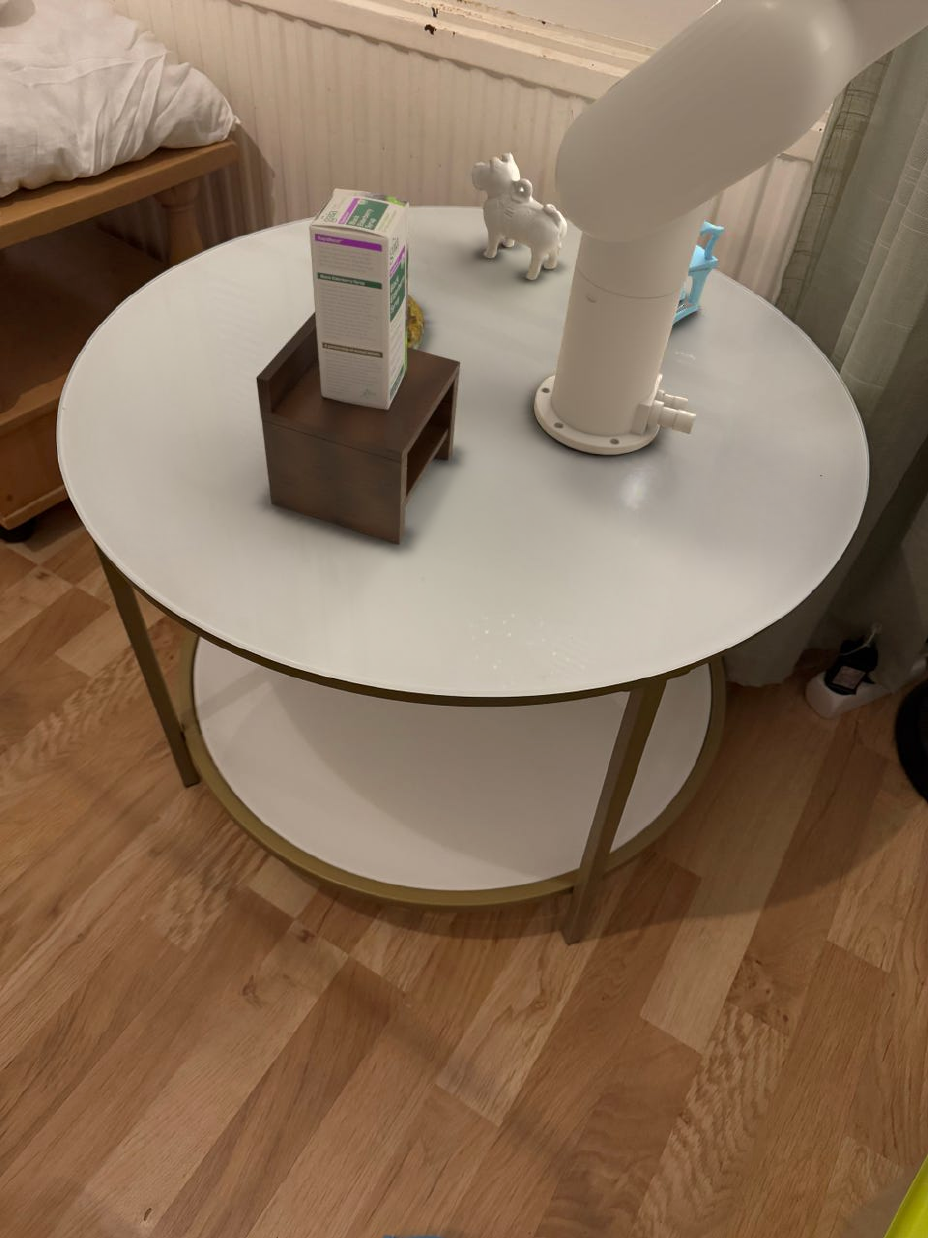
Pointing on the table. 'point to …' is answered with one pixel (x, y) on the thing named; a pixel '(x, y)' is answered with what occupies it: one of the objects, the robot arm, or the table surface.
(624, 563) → the table surface
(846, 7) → the robot arm
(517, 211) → the dog figurine
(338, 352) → the syrup box
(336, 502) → the shelf
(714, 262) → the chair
